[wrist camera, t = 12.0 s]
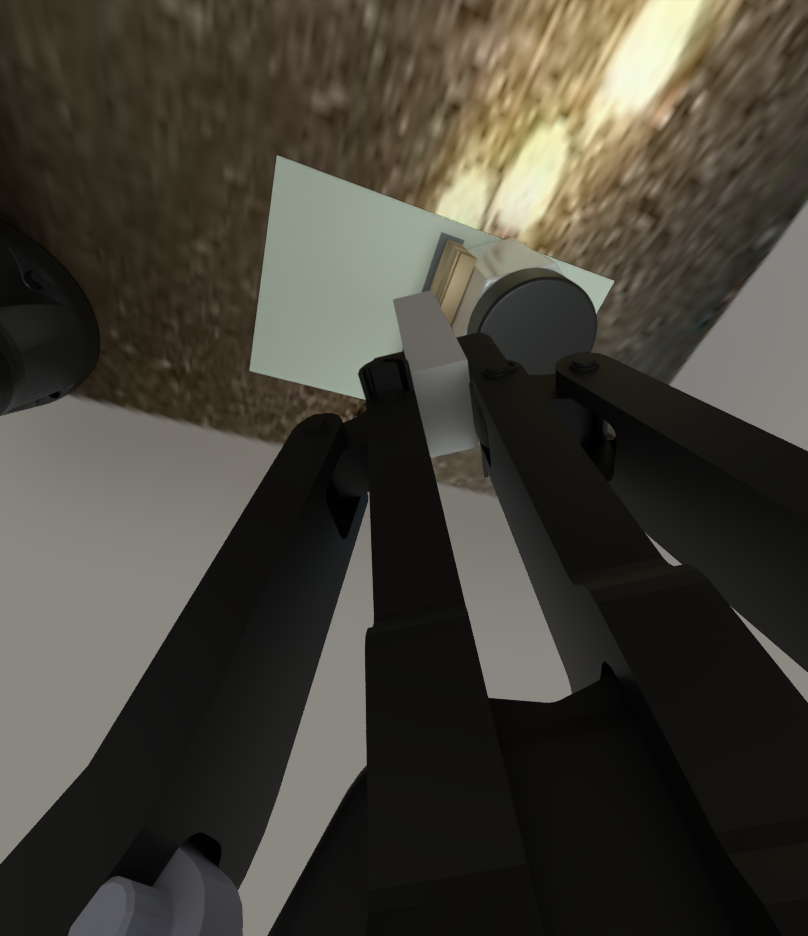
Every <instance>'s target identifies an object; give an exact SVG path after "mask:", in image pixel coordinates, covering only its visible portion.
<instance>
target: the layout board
mask: <svg viewBox="0 0 808 936" xmlns="http://www.w3.org/2000/svg"><path fill="white" fill-rule="evenodd" d="M447 239H448V240H451V241H454V242H456V243H459V244H461V245H462V246H463V247H464V248H466V249H469V248H473V247H477V246H481V245H485V244H489V243H493V242H497V241H501V240H504V239H501V238H498V237H496V236H493V235H490V234H487V233H485V232H482V231H479V230H477V229H474V228H471V227H469V226H466V225H463V224H461V223H458V222H455V221H453V220H450V219H447V218H445V217H442V216H439V215H437V214H434V213H431V212H428V211H426V210H423V209H420V208H418V207H415V206H412V205H410V204H407V203H404V202H402V201H399V200H396V199H394V198H391V197H388V196H386V195H383V194H380V193H378V192H375V191H372V190H369V189H367V188H364V187H361V186H359V185H356V184H353V183H351V182H348V181H345V180H343V179H340V178H337V177H335V176H332V175H329V174H327V173H324V172H321V171H319V170H316V169H313V168H310V167H308V166H305V165H302V164H300V163H297V162H294V161H292V160H289V159H286V158H284V157H281V156H278V155H277V159H276V166H275V174H274V182H273V190H272V198H271V206H270V213H269V221H268V229H267V237H266V245H265V253H264V260H263V268H262V276H261V284H260V292H259V299H258V307H257V315H256V323H255V331H254V339H253V346H252V354H251V362H250V370H249V371H252V372H256V373H260V374H264V375H268V376H272V377H276V378H280V379H284V380H288V381H292V382H296V383H300V384H304V385H308V386H312V387H316V388H320V389H324V390H328V391H332V392H337V393H341V394H345V395H349V396H353V397H357V398H361V399H365V396H364V393H363V389H362V386H361V383H360V379H359V376H358V372H359V370H360V368H361V367H363V366H364V365H365V364H367V363H369V362H371V361H373V360H374V358H377V357H381V356H385V355H389V354H394V353H398V352H402V351H404V349H403V344H402V340H401V335H400V331H399V326H398V321H397V317H396V312H395V308H394V303H393V299H397V298H401V297H405V296H409V295H413V294H417V293H421V292H425V291H429V290H430V287H431V284H432V281H433V279H434V276H435V273H436V270H437V267H438V265H439V262H440V259H441V256H442V253H443V250H444V248H445V245H446V242H447ZM540 254H541V253H540ZM541 255H543V256H545V257H547V258H548V259H550V260H552V261H553V262H555V263H556V264H557V266H558V267H559V269H560V271H561V272H562V274H563V275H564V276H565V277H566V278H568V279H569V280H571V281H573V282H574V283H576V284H577V285H579V286H580V287H581V288H582V289H583V290H584V291H585V292H586V293H587V294H588V296H589V297H590V299H591V301H592V303H593V305H594V308H595V311H596V313H597V311H598V310H599V308H600V306H601V304H602V303H603V301H604V299H605V297H606V295H607V294H608V292H609V290H610V288H611V287H612V285H613V283H614V281H613V280H611V279H608V278H606V277H603V276H600V275H597V274H595V273H592V272H589V271H587V270H584V269H581V268H579V267H576V266H573V265H571V264H568V263H565V262H563V261H560V260H557V259H555V258H552V257H549V256H547V255H544V254H541ZM365 400H366V399H365Z"/></svg>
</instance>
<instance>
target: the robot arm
mask: <svg viewBox="0 0 808 936" xmlns="http://www.w3.org/2000/svg"><path fill="white" fill-rule="evenodd" d="M393 303H394V308H395V312H396V317H397V321H398V326H399V331H400V335H401V340H402V344H403V349H404V351H402V352H398V353H394V354H389V355H385V356H381V357H377V358H374V360H373V361H371V362H369V363H367V364H365V365H364V366H363V367H361V368H360V370H359V372H358V376H359V379H360V383H361V386H362V389H363V393H364V396H365V399H366V411H365V412H364V413H362V414H361V415H359V416H358V417H356V418H354V419H352V420H349V421H347V422H344V423H343V422H342V419H341V418H340V416H339V415H336V414H333V413H323V414H316V415H312V417H311V416H310V417H308V418H306V419H305V420H304V421H302V422H300V423H299V424H298V425H297V426H296V427H295V428H294V429H293V431H292V432H291V434H290V436H289V437H288V439H287V441H286V442H285V444H284V446H283V447H282V449H281V451H280V452H279V454H278V455H277V457H276V459H275V460H274V462H273V464H272V465H271V467H270V469H269V470H268V472H267V474H266V475H265V477H264V478H263V480H262V482H261V483H260V485H259V487H258V488H257V490H256V491H255V493H254V495H253V496H252V498H251V500H250V501H249V503H248V505H247V507H246V508H245V509H244V511H243V513H242V515H241V516H240V518H239V519H238V521H237V523H236V524H235V526H234V528H233V529H232V531H231V532H230V534H229V536H228V537H227V539H226V541H225V542H224V544H223V546H222V547H221V549H220V550H219V552H218V554H217V555H216V557H215V559H214V560H213V562H212V564H211V565H210V567H209V568H208V570H207V572H206V573H205V575H204V577H203V578H202V580H201V582H200V583H199V585H198V586H197V588H196V590H195V591H194V593H193V595H192V596H191V598H190V600H189V601H188V603H187V605H186V606H185V608H184V610H183V611H182V613H181V614H180V616H179V618H178V619H177V621H176V623H175V624H174V626H173V627H172V629H171V631H170V632H169V634H168V636H167V638H166V639H165V641H164V642H163V644H162V646H161V647H160V649H159V650H158V652H157V654H156V655H155V657H154V659H153V660H152V662H151V664H150V665H149V667H148V669H147V670H146V672H145V673H144V675H143V677H142V678H141V680H140V682H139V683H138V685H137V686H136V688H135V690H134V691H133V693H132V695H131V696H130V698H129V700H128V701H127V703H126V704H125V706H124V708H123V709H122V711H121V713H120V715H119V716H118V718H117V719H116V721H115V722H114V724H113V726H112V727H111V729H110V731H109V732H108V734H107V736H106V737H105V739H104V741H103V742H102V744H101V746H100V747H99V749H98V751H97V752H96V754H95V755H94V757H93V759H92V760H91V762H90V763H89V765H88V766H87V767H86V769H85V770H84V771H83V772H82V773H81V774H80V775H79V777H78V778H77V779H76V780H75V781H74V782H73V783H72V785H70V787H69V788H68V789H67V790H66V791H65V792H64V793H63V794H62V796H61V797H60V798H59V799H58V800H57V801H56V802H55V803H54V805H53V806H52V807H51V808H50V809H49V810H48V812H46V814H45V815H44V816H43V817H42V818H41V819H40V820H39V822H38V823H37V824H36V825H35V826H34V827H33V828H32V829H31V831H30V832H29V833H28V834H27V835H26V836H25V837H24V838H23V840H22V841H21V842H20V843H19V844H18V845H17V846H16V847H15V849H14V850H13V851H12V852H11V853H10V854H9V855H8V856H7V858H6V859H5V860H4V861H3V862H2V863H1V864H0V936H243V934H242V933H243V932H242V928H243V917H242V903H241V900H240V896H239V893H238V889H239V887H240V885H241V883H242V881H243V880H244V878H245V876H246V874H247V871H248V869H249V867H250V865H251V862H252V860H253V858H254V855H255V853H256V851H257V849H258V846H259V844H260V842H261V840H262V837H263V835H264V833H265V830H266V827H267V824H268V821H269V818H270V815H271V813H272V810H273V807H274V804H275V801H276V798H277V796H278V792H279V789H280V786H281V783H282V780H283V776H284V773H285V770H286V767H287V763H288V760H289V757H290V754H291V750H292V747H293V744H294V741H295V737H296V734H297V731H298V728H299V724H300V721H301V718H302V715H303V711H304V708H305V705H306V701H307V698H308V695H309V692H310V688H311V685H312V682H313V679H314V676H315V672H316V669H317V666H318V663H319V659H320V656H321V653H322V649H323V646H324V643H325V640H326V636H327V633H328V630H329V626H330V623H331V620H332V617H333V613H334V610H335V607H336V604H337V601H338V597H339V594H340V591H341V588H342V584H343V581H344V578H345V574H346V571H347V568H348V565H349V561H350V558H351V555H352V551H353V549H354V545H355V542H356V539H357V535H358V532H359V529H360V526H361V522H362V519H363V516H364V513H365V509H366V506H367V503H368V494H367V492H370V518H371V544H372V545H371V547H372V574H373V600H374V625H373V627H371V628H368V629H367V632H366V638H365V639H366V641H365V681H366V742H367V766H366V767H365V768H364V769H363V770H362V771H361V772H360V774H359V775H358V776H357V778H356V779H355V781H354V782H353V783H352V785H351V786H350V788H349V789H348V791H347V792H346V794H345V796H344V798H343V799H342V801H341V803H340V805H339V806H338V809H337V810H336V812H335V814H334V815H333V817H332V819H331V821H330V823H329V825H328V826H327V828H326V830H325V832H324V834H323V836H322V837H321V839H320V841H319V843H318V845H317V847H316V848H315V850H314V852H313V854H312V856H311V857H310V859H309V861H308V863H307V865H306V866H305V868H304V870H303V872H302V874H301V876H300V877H299V879H298V881H297V883H296V885H295V887H294V888H293V890H292V892H291V894H290V896H289V897H288V899H287V901H286V903H285V905H284V906H283V908H282V910H281V913H280V914H279V916H278V917H277V919H276V921H275V923H274V925H273V927H272V928H271V930H270V932H269V934H268V936H808V703H807V701H806V700H805V699H804V698H803V696H802V695H801V694H800V693H799V691H798V690H797V689H796V688H795V686H794V685H793V684H792V683H791V681H790V680H789V679H788V678H787V676H786V675H785V674H784V673H783V671H782V670H781V669H780V668H779V666H778V665H777V664H776V663H775V661H774V660H773V659H772V658H771V657H770V655H769V654H768V653H767V651H766V650H765V649H764V648H763V646H762V645H761V644H760V643H759V642H758V640H757V639H756V638H755V637H754V635H753V634H752V633H751V632H750V631H749V629H748V628H747V627H746V625H745V624H744V623H743V622H742V620H741V619H740V618H739V617H738V615H737V614H736V613H735V612H734V610H733V609H735V610H736V611H737V612H738V613H739V614H740V615H742V616H743V617H744V618H745V619H746V620H747V621H749V622H750V623H751V624H752V625H753V626H754V627H756V628H757V629H758V630H759V631H760V632H761V633H762V634H764V635H765V636H766V637H767V638H768V639H769V640H771V641H772V642H773V643H774V644H775V645H776V646H778V647H779V648H780V649H781V650H782V651H783V652H785V653H786V654H787V655H788V656H789V657H790V658H792V659H793V660H794V661H795V662H796V663H798V664H799V665H800V666H801V667H802V668H803V669H804V670H806V671H807V672H808V451H806V450H804V449H802V448H800V447H798V446H796V445H793V444H791V443H789V442H787V441H785V440H783V439H781V438H779V437H776V436H774V435H772V434H770V433H768V432H766V431H764V430H762V429H760V428H758V427H756V426H753V425H751V424H749V423H747V422H745V421H743V420H741V419H739V418H736V417H734V416H732V415H730V414H728V413H726V412H724V411H722V410H720V409H718V408H716V407H713V406H711V405H709V404H707V403H705V402H703V401H701V400H699V399H697V398H694V397H692V396H690V395H688V394H686V393H684V392H682V391H680V390H678V389H676V388H673V387H671V386H669V385H667V384H665V383H663V382H661V381H659V380H657V379H655V378H652V377H650V376H648V375H646V374H644V373H642V372H640V371H638V370H636V369H633V368H631V367H629V366H627V365H625V364H623V363H621V362H619V361H617V360H615V359H612V358H610V357H608V356H606V355H602V354H599V353H590V352H583V353H581V352H578V353H575V354H572V355H568V356H566V357H564V358H562V359H560V360H559V361H558V362H557V363H556V374H545V375H530V374H528V373H527V372H526V370H525V369H524V368H523V366H522V365H521V364H519V363H518V362H515V361H512V360H506V359H505V357H504V356H503V354H502V353H501V351H500V350H499V349H498V347H497V346H496V344H495V343H494V341H493V340H492V338H491V337H490V336H489V335H486V334H484V333H481V332H477V333H473V334H469V335H464V336H460V337H456V336H455V334H454V332H453V331H452V329H451V327H450V325H449V323H448V321H447V319H446V317H445V315H444V313H443V311H442V309H441V307H440V305H439V303H438V301H437V299H436V297H435V295H434V293H433V291H432V290H430V291H425V292H421V293H417V294H413V295H409V296H405V297H401V298H397V299H393ZM98 353H99V334H98V328H97V324H96V321H95V317H94V315H93V312H92V310H91V307H90V305H89V303H88V301H87V299H86V298H85V296H84V294H83V293H82V291H81V289H80V288H79V286H78V285H77V284H76V282H75V281H74V280H73V278H72V277H71V276H70V275H69V273H68V272H67V271H66V270H65V269H64V268H63V267H62V266H61V264H60V263H59V262H58V261H57V260H56V259H54V258H53V257H52V256H51V255H50V254H49V253H48V252H47V251H46V250H44V249H43V248H42V247H41V246H39V245H38V244H37V243H36V242H34V241H33V240H31V239H30V238H29V237H27V236H26V235H24V234H22V233H21V232H19V231H18V230H16V229H14V228H12V227H11V226H9V225H7V224H5V223H3V222H1V221H0V416H2V415H6V414H10V413H14V412H18V411H22V410H25V409H29V408H33V407H36V406H41V405H44V404H48V403H51V402H54V401H56V400H58V399H61V398H62V397H64V396H66V395H67V394H69V393H70V392H72V391H73V390H74V389H75V388H76V387H77V386H79V385H80V384H81V383H82V382H83V381H84V380H85V379H86V378H87V377H88V376H89V375H90V373H91V372H92V370H93V368H94V366H95V364H96V361H97V358H98ZM608 423H609V424H610V425H611V426H612V428H613V429H614V431H615V434H616V437H614V436H612V435H611V434H609V433H608V432H607V431H608ZM477 435H478V438H479V440H480V445H481V453H482V461H483V469H484V477H485V478H486V477H488V473H489V476H490V479H491V481H492V484H493V486H494V489H495V491H496V494H497V496H498V499H499V502H500V504H501V507H502V509H503V512H504V514H505V517H506V519H507V522H508V525H509V527H510V529H511V532H512V535H513V537H514V540H515V542H516V545H517V547H518V550H519V553H520V555H521V558H522V560H523V563H524V565H525V568H526V570H527V573H528V576H529V578H530V580H531V583H532V586H533V588H534V591H535V594H536V596H537V599H538V601H539V604H540V606H541V609H542V611H543V614H544V616H545V619H546V622H547V624H548V627H549V629H550V632H551V634H552V636H553V639H554V642H555V645H556V647H557V650H558V652H559V655H560V657H561V660H562V662H563V665H564V668H565V670H566V673H567V676H568V679H569V682H570V686H571V690H572V694H571V695H569V696H567V697H565V698H564V699H562V700H559V701H557V702H552V703H541V702H530V701H518V700H506V699H494V698H488V696H487V691H486V687H485V682H484V678H483V674H482V670H481V666H480V661H479V657H478V653H477V649H476V645H475V640H474V636H473V632H472V628H471V624H470V620H469V616H468V612H467V609H466V605H465V601H464V597H463V593H462V589H461V584H460V580H459V576H458V572H457V568H456V563H455V559H454V555H453V551H452V547H451V542H450V538H449V534H448V529H447V526H446V521H445V517H444V512H443V508H442V505H441V500H440V495H439V492H438V487H437V483H436V479H435V474H434V470H433V466H432V462H431V458H432V457H436V456H441V455H445V454H450V453H454V452H459V451H463V450H468V449H472V448H477V447H479V446H478V439H477ZM645 533H646V534H647V535H649V536H650V537H651V538H652V539H653V540H654V541H655V542H657V543H658V544H659V545H660V546H661V547H662V548H664V549H665V550H666V551H667V552H668V553H669V554H671V555H672V556H673V557H674V558H675V559H676V560H678V561H679V562H680V563H681V564H682V565H678V566H672V565H671V564H668V562H667V561H666V560H665V559H664V558H663V557H662V556H661V554H660V553H659V552H658V550H657V549H656V547H655V546H654V545H653V543H652V542H651V541H650V539H649V538H648V536H647V535H646V534H645ZM730 606H731V607H732V608H733V609H732V608H731V607H730Z"/></svg>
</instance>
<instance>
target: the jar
mask: <svg viewBox="0 0 808 936" xmlns="http://www.w3.org/2000/svg"><path fill="white" fill-rule="evenodd" d="M467 250H468V251H469V252H470V253H471V254H472V255H473V256H475V257H476V258H477V261H476V263H475V266H474V268H473V271H472V273H471V276H470V278H469V281H468V283H467V286H466V288H465V291H464V293H463V296H462V298H461V301H460V303H459V306H458V308H457V311H456V313H455V316H454V318H453V321H452V323H451V326H450V327H451V329H452V331H453V332H454V334H455V336H456V337H460V336H464V335H469V334H473V333H477V332H481V333H484V334H486V335H489V336H490V337H491V338H492V340H493V341H494V343H495V344H496V346H497V347H498V349H499V350H500V351H501V353H502V354H503V356H504V357H505V359H506V360H512V361H515V362H518V363H519V364H521V365H522V366H523V368H524V369H525V370H526V372H527V373H528V374H530V375H545V374H556V363H557V362H558V361H559V360H560V359H562V358H564V357H566V356H568V355H572V354H575V353H578V352H581V353H583V352H591V350H592V348H593V345H594V342H595V338H596V333H597V316H596V311H595V308H594V305H593V303H592V301H591V299H590V297H589V296H588V294H587V293H586V292H585V291H584V290H583V289H582V288H581V287H580V286H579V285H577V284H576V283H574V282H573V281H571V280H569V279H568V278H566V277H565V276H564V275H563V274H562V272H561V271H560V269H559V267H558V266H557V264H556V263H555V262H553V261H552V260H550V259H548V258H547V257H545V256H543V255H541V254H540V253H538V252H536V251H535V250H533V249H531V248H530V247H528V246H526V245H525V244H523V243H521V242H519V241H518V240H516V239H514V238H509V239H505V240H501V241H497V242H493V243H489V244H485V245H481V246H477V247H473V248H469V249H467Z"/></svg>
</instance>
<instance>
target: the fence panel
mask: <svg viewBox="0 0 808 936" xmlns="http://www.w3.org/2000/svg"><path fill="white" fill-rule="evenodd" d="M476 261H477V258H476V257H475V256H473V255H472V254H471V253H470V252H469V251H468V250H467V249H466V248H464V247H463V246H462V245H461V244H459V243H456V242H454V241H451V240H448V239H447V242H446V245H445V248H444V250H443V253H442V256H441V259H440V262H439V265H438V267H437V270H436V273H435V276H434V279H433V281H432V284H431V287H430V290H432V291H433V293H434V295H435V297H436V299H437V301H438V303H439V305H440V307H441V309H442V311H443V313H444V315H445V317H446V319H447V321H448V323H449V325H450V326H451V323H452V321H453V318H454V316H455V313H456V311H457V308H458V306H459V303H460V301H461V298H462V296H463V293H464V291H465V288H466V286H467V283H468V281H469V278H470V276H471V273H472V271H473V268H474V266H475V263H476ZM430 290H429V291H430Z"/></svg>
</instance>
